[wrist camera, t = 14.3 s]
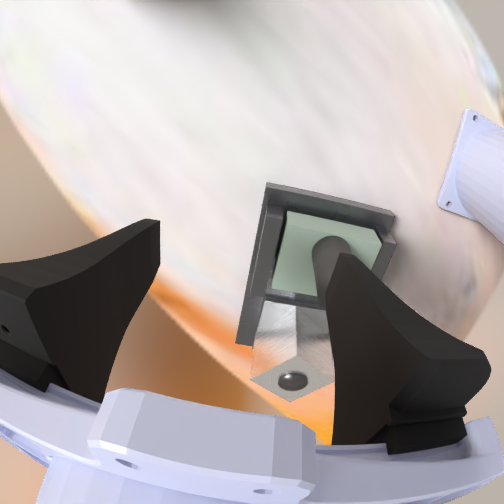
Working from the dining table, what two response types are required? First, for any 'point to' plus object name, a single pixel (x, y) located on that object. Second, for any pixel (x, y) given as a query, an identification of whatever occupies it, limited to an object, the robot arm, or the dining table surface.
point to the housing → (292, 356)
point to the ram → (318, 252)
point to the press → (267, 243)
